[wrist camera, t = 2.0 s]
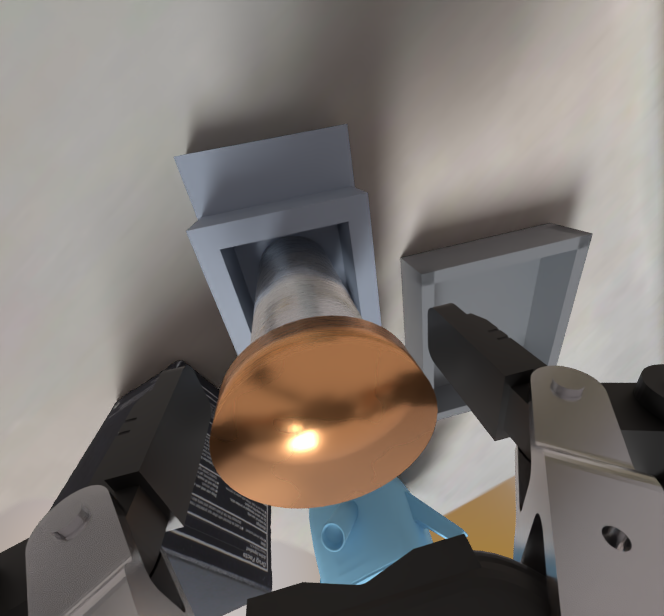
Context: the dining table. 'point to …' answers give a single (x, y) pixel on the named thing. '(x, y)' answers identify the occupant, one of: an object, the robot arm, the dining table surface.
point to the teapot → (372, 533)
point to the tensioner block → (278, 217)
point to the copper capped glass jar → (316, 392)
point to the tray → (496, 293)
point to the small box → (200, 522)
